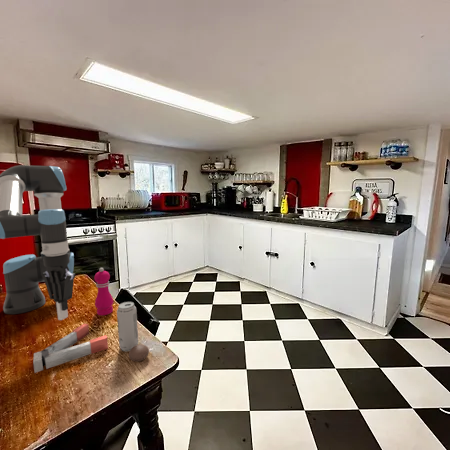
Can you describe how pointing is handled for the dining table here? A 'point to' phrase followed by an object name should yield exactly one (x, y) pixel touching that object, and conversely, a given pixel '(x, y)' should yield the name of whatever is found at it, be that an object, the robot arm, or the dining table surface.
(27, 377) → the dining table surface
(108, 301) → the pepper mill
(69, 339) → the tongs arm
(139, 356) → the egg
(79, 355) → the tongs fixed
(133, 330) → the energy drink can
